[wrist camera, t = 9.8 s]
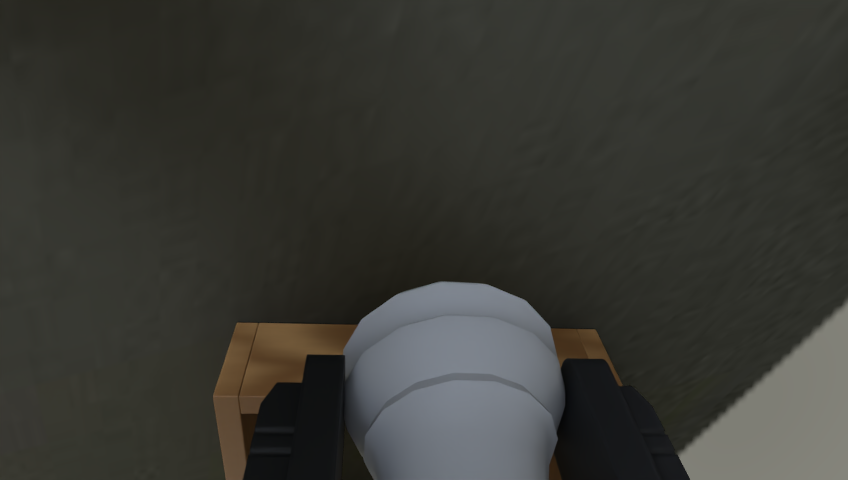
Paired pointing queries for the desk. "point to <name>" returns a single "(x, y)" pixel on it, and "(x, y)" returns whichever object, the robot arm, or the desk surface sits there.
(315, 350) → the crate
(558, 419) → the rook chess piece
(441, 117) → the desk surface
